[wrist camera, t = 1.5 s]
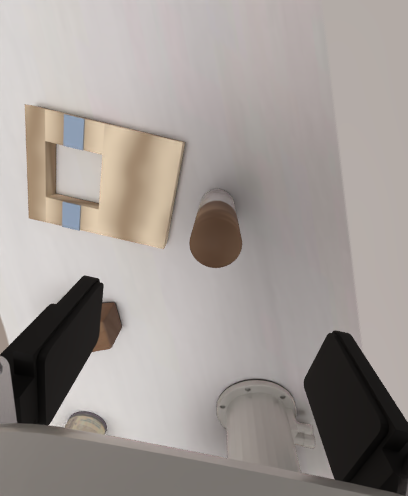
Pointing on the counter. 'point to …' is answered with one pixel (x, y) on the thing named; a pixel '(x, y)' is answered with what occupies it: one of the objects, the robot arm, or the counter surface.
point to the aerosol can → (87, 422)
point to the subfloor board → (104, 177)
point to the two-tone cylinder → (216, 230)
